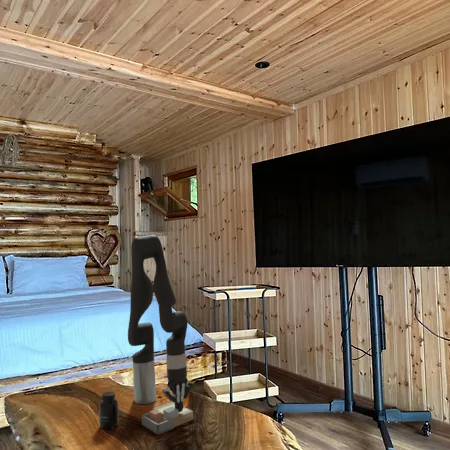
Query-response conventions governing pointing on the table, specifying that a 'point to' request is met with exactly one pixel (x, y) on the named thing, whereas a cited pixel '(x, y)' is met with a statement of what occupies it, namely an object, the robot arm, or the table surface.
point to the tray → (155, 427)
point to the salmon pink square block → (155, 416)
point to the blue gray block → (171, 413)
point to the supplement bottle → (108, 410)
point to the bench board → (183, 415)
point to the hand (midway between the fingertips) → (179, 411)
